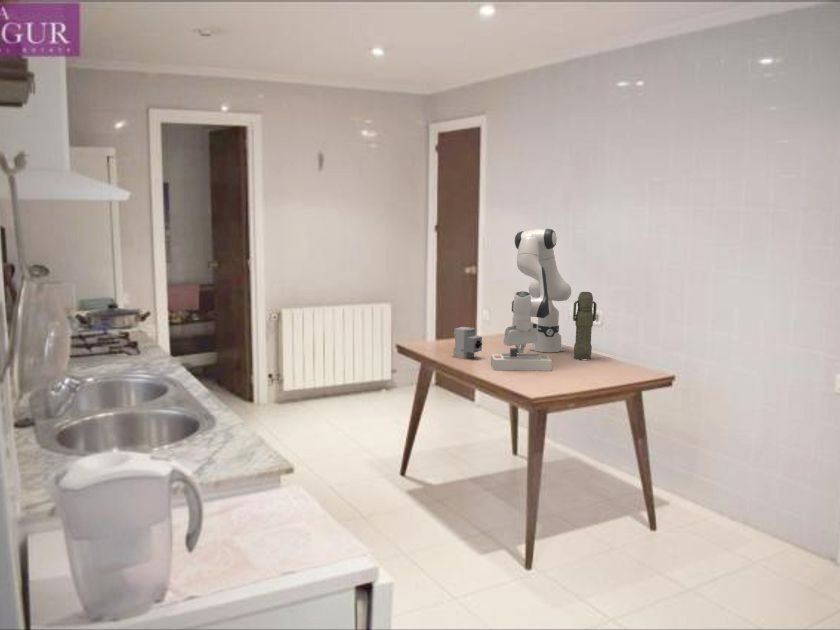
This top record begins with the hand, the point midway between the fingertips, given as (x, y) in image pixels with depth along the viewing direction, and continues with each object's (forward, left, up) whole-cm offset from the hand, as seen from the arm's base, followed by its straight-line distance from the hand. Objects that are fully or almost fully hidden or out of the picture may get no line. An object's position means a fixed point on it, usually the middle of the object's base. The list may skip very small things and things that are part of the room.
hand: (520, 353), depth 354 cm
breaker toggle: (0, -3, -2) cm, 4 cm away
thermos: (-24, +37, -7) cm, 44 cm away
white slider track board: (0, +1, -7) cm, 7 cm away
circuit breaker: (-22, -23, -8) cm, 33 cm away
